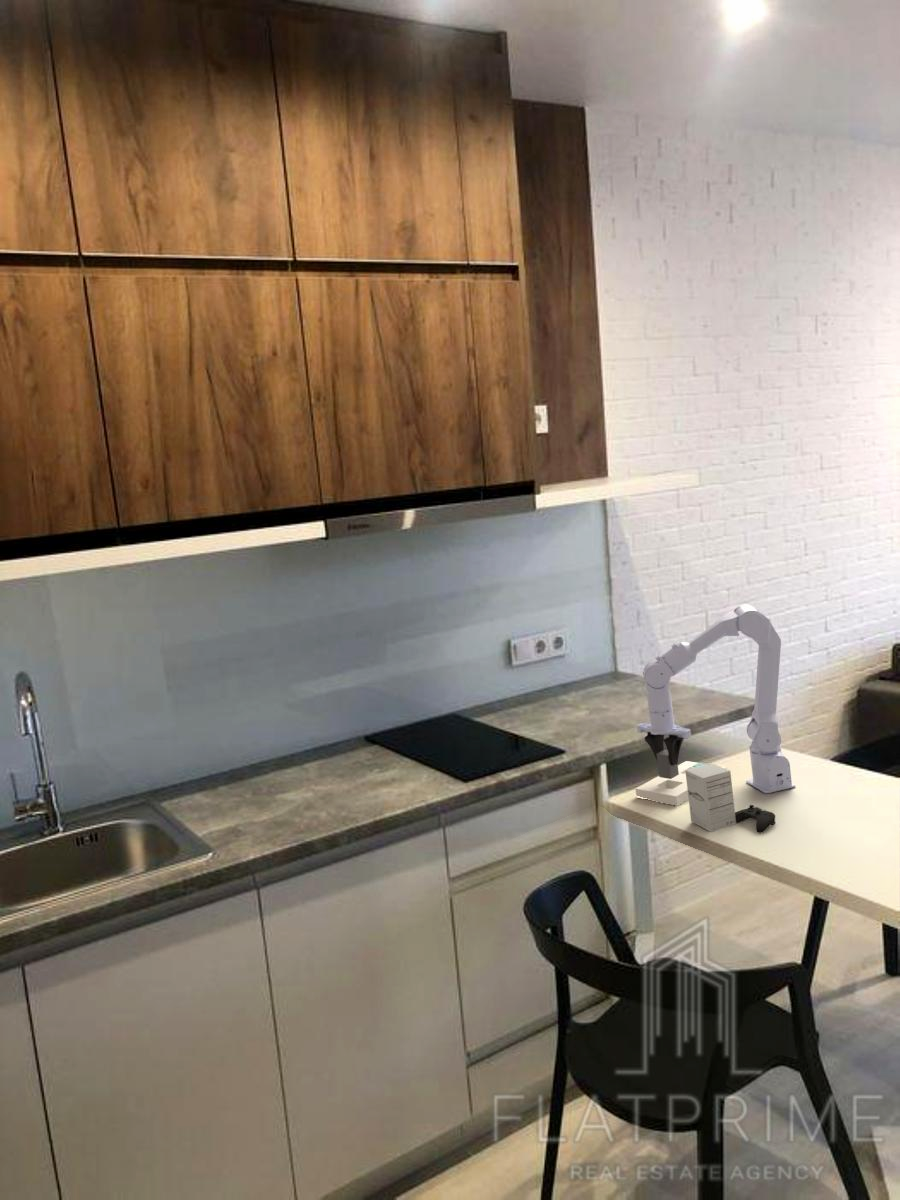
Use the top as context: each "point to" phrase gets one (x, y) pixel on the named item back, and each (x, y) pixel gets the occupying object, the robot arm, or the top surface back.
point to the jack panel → (668, 786)
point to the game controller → (756, 817)
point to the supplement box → (710, 796)
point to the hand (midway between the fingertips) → (667, 763)
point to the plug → (666, 765)
